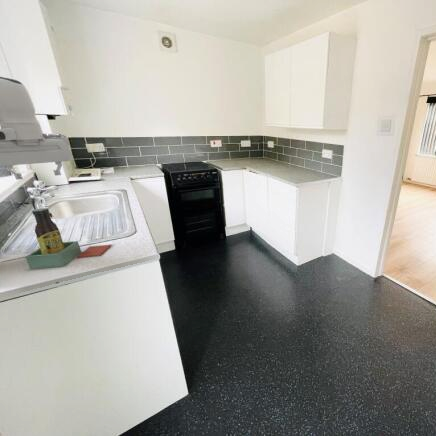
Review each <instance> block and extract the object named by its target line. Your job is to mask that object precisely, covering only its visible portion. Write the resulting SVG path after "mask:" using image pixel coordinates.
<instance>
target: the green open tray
mask: <svg viewBox="0 0 436 436" xmlns="http://www.w3.org/2000/svg"><path fill="white" fill-rule="evenodd" d="M63 244H64V247H65V249H64V250H62V251H61V252H59V253H55V254H44V255H42V252H41V249H40V247H39V248H37V249H36V250H34V251H32V252H30V253H29V254H27V255H25V257H24V258H25V260H26V262H27V265H28V267H29V269H30V270H37V269H38V270H39V269H49V268H58V267H65V266H66V265H67V264H69V263H70V262H71V261H72V260H74V259H75V258H77V256H78V255H79V254H81V253H82V249H81V247H80V243H79V240H78V241H77V240H75V241H74V240H73V241H63Z"/></svg>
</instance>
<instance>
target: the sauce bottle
mask: <svg viewBox="0 0 436 436" xmlns="http://www.w3.org/2000/svg"><path fill="white" fill-rule="evenodd" d="M31 212H32V215H34V219H35V222H36V224H35V226H34V233H35V235H36V236H35V237H36V240H37V243H38V247H39V248H40V249H41V252H42V255H44V254H55V253H59V252H61V251H62V250H64V249H65V247H64V244H63V242H64V241H63V239H62V236H61V235H62V234H61V231H60V228H59V227H58V226H57V224H56V223H55V222H54V221H53V220H52V218H51V216H50V210H49V208H47V207H45V208H36V209H33V210H31Z"/></svg>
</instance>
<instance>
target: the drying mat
mask: <svg viewBox="0 0 436 436" xmlns="http://www.w3.org/2000/svg"><path fill="white" fill-rule="evenodd" d="M111 247H112V244H104V245H102V244H101V245H93V246H92V245H90V246H89V247H87V248H86V249H84V250H83V251H81V253H80V254H79V255H78V256H76V259H80V258H92V257H101V256H102V255H103V254H104V253H105V252H106V251H107V250H109V249H110V248H111Z"/></svg>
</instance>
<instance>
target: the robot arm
mask: <svg viewBox="0 0 436 436" xmlns="http://www.w3.org/2000/svg"><path fill="white" fill-rule="evenodd" d="M73 159H74V156H73V154H72V150H71V149H70V141H69V138H68V137H67V136H66V135H64V134H61V133H44V132H43V130H42V127H41V124H40V121H39V120H38V119H37V116H36V109H35V106H34V103H33V100H32V98H31V95H30V93H29V90H28V89H27V88H26V86H25V84H24V83H22V82H21V81H19V80H16V79H13V78H8V77H4V76H0V167H6V170H7V171H8V172H10V173H11V174H13V176H14V178H15V180H17V181H18V180H19V181H20V180H24V178H23V176H22V173H19V172H15V171H14V170H13V169H14V166H20V165H22V166H23V165H33V164H34V165H35V164H45V163H46V164H47V163H54V164H55V165H56V169H53V174H54V176H62V173H61V169H62V166H63V163H62V162H72V161H73Z"/></svg>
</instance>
